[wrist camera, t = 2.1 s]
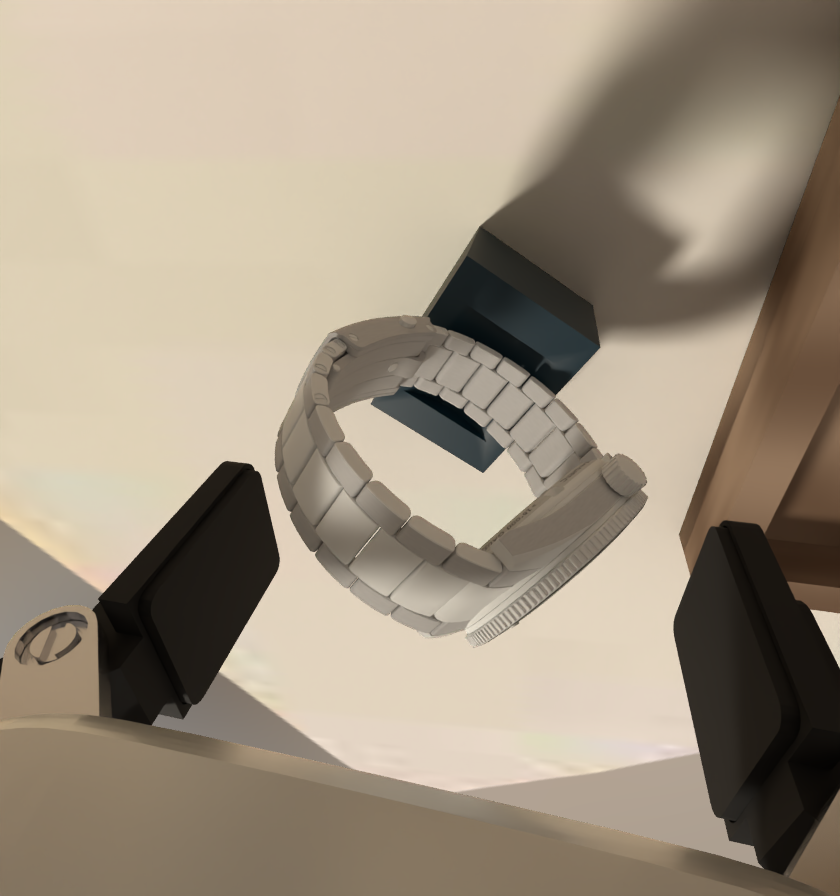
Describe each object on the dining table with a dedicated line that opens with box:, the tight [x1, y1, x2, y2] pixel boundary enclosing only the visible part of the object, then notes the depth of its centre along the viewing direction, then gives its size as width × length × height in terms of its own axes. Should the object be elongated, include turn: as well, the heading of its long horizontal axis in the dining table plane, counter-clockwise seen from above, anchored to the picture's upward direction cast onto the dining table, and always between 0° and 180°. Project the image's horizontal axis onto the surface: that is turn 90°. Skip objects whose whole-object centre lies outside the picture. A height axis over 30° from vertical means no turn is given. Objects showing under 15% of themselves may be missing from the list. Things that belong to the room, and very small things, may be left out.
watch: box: [275, 227, 648, 648], centre depth 13 cm, size 6×8×11 cm
